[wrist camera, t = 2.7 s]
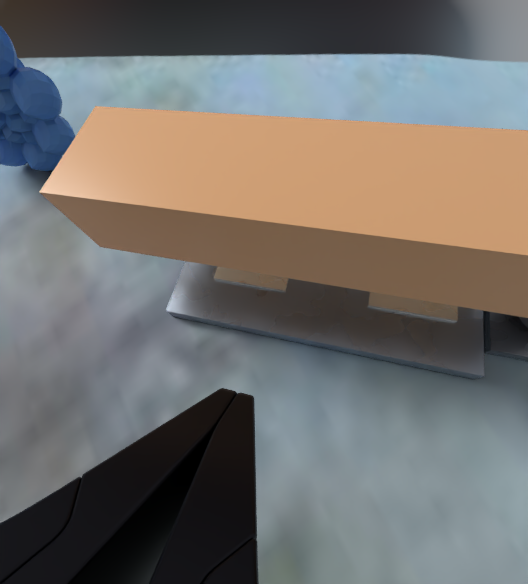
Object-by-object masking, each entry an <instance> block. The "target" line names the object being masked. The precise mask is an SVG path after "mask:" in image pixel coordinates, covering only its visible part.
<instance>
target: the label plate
mask: <svg viewBox="0 0 528 584" xmlns="http://www.w3.org/2000/svg"><path fill="white" fill-rule="evenodd" d="M166 311H167V312H168V313H169V314H170V315H172V316H173V317H178V318H183V319H188V320H193V321H197V322H202V323H207V324H212V325H216V326H221V327H226V328H231V329H236V330H240V331H245V332H250V333H255V334H259V335H264V336H269V337H274V338H279V339H283V340H288V341H293V342H298V343H302V344H307V345H312V346H317V347H322V348H326V349H331V350H336V351H341V352H345V353H350V354H355V355H360V356H365V357H369V358H374V359H379V360H384V361H389V362H393V363H398V364H403V365H408V366H412V367H417V368H422V369H427V370H432V371H436V372H441V373H446V374H451V375H455V376H460V377H465V378H470V379H477V378H481V377H484V376H485V371H484V328H483V310H477V309H471V308H465V307H459V306H453V305H447V304H441V303H435V302H429V301H423V300H417V299H411V298H405V297H399V296H393V295H387V294H380V293H374V292H368V291H362V290H356V289H350V288H344V287H338V286H332V285H326V284H320V283H314V282H308V281H302V280H296V279H290V278H284V277H278V276H272V275H266V274H260V273H254V272H248V271H242V270H236V269H230V268H224V267H218V266H212V265H206V264H200V263H194V262H188V261H185V263H184V265H183V268H182V271H181V273H180V276H179V278H178V281H177V283H176V286H175V288H174V291H173V294H172V296H171V299H170V301H169V304H168V306H167V309H166Z"/></svg>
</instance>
